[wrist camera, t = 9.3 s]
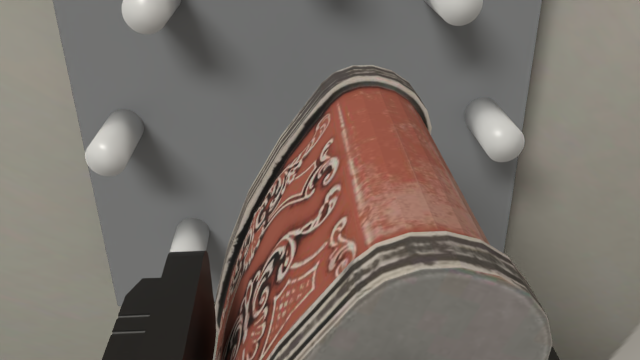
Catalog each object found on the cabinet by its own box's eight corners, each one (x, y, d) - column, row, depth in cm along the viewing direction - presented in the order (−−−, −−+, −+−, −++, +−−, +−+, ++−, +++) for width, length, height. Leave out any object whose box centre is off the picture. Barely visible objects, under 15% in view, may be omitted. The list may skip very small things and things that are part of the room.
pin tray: (41, -126, 18) (-14, -124, 14) (546, -135, 18) (603, -134, 15) (125, 286, 25) (100, 351, 21) (488, 271, 25) (519, 331, 22)
